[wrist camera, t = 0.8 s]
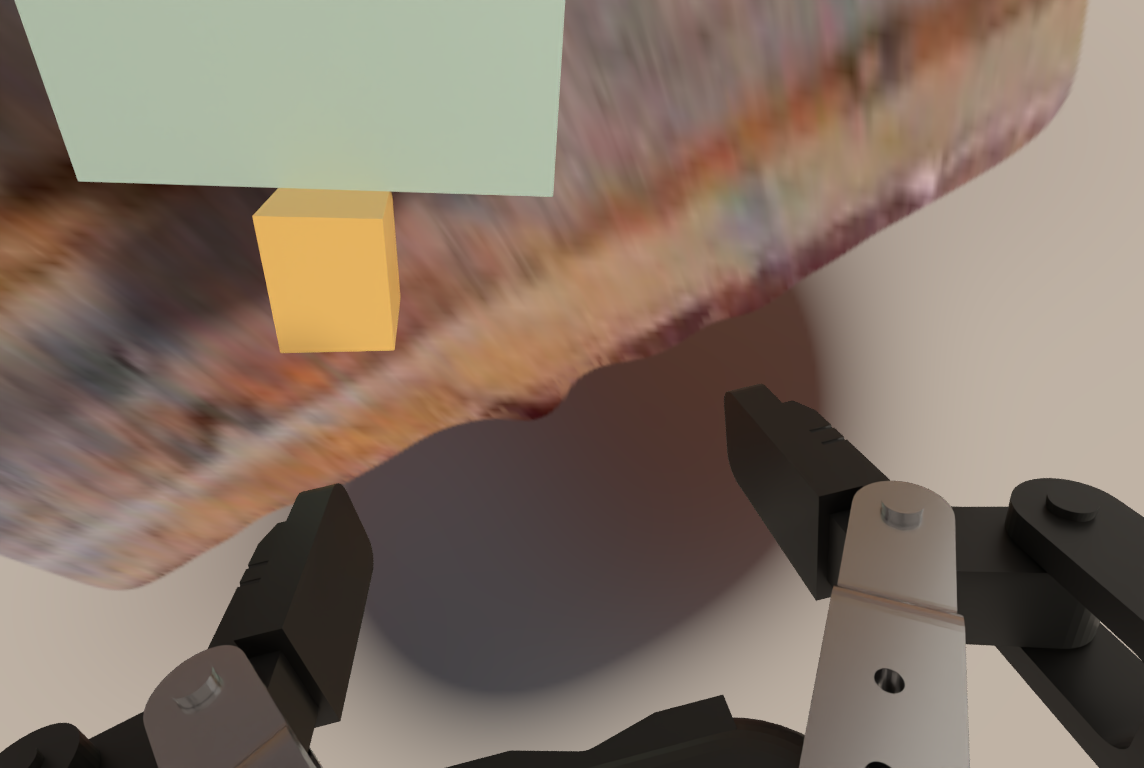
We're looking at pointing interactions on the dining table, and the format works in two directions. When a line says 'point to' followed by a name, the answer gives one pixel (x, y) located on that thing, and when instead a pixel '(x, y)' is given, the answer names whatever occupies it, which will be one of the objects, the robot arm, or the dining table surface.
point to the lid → (310, 123)
